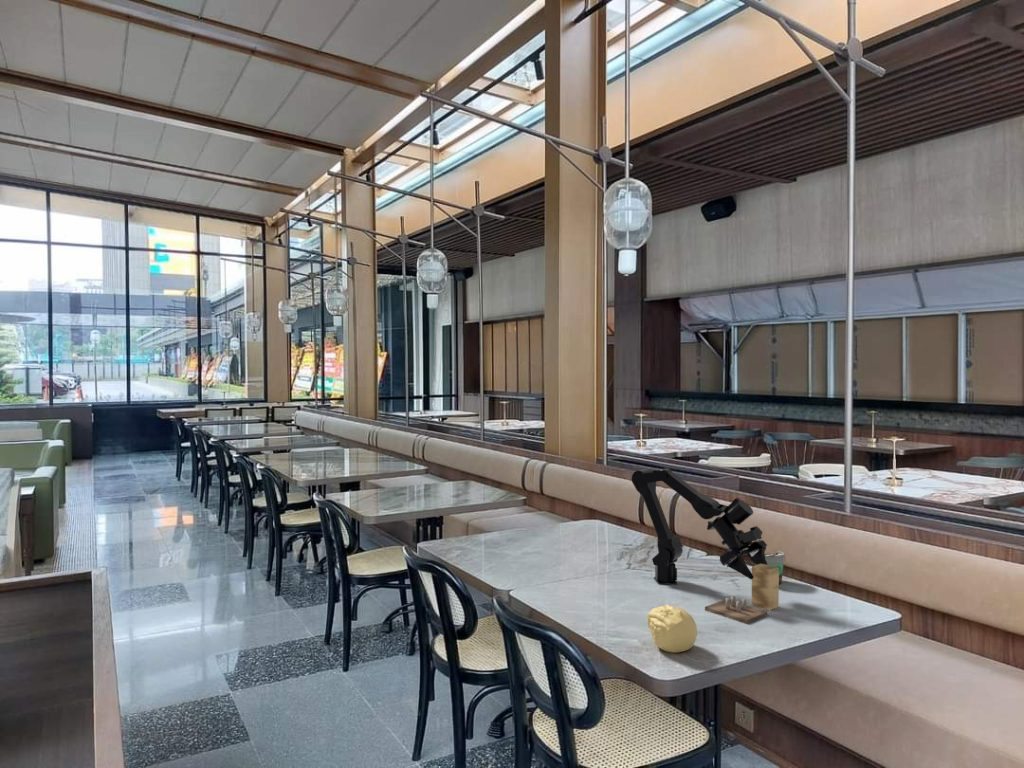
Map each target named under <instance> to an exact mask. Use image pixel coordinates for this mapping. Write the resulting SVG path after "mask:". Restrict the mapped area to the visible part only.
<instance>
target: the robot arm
mask: <svg viewBox="0 0 1024 768" xmlns="http://www.w3.org/2000/svg"><path fill="white" fill-rule="evenodd" d="M631 482H632V484H633V486H634V488H635V490H636V491H637V493H638V494H640V495H641V497H642V499H643V501H644V503H645V506H646V509H647V511H648V515H649V517H650V519H651V522H652V526H653V528H654V532H655V533H656V536H657V545H656V547H657V550H658V553H657V554H656V555H655V556H653V557H652V559H651V560H652V564H653V565H654V571H655V572H654V577H653V579H654V581H655V582H656V583H657V584H658V585H677V584H678V582H677V580H678V569H677V567H676V563H677V561H678V559H679V558H680V557H681V556H682V554H683V553H684V551H683V547H684V545H683V544H682V542H681V538H680V536H679V534H678V535H674V534H673V533H672V531H671V529H670V527H669V524H668V521H667V518H666V516H665V513H664V511H663V507H662V505H661V503H660V500H659V497H658V494H657V482H663V483H664V484H666V485H667V486H668V487H669V488H670V489H672V490H673V492H675V493H676V494H678V495H680V496H681V497H682V498H683V499H684V500H686V501H687V502H688V503H689V505H691V507H692V509H693V511H695V513H696V514H698V515H699V517H701V519H703V520H710V521H707V527H706V530H707V531H712V530H715V531H716V533H717V534H718V535H719V536H720V538H721V539H722V541H721V544H722V545H723V546H724V545H726V546H727V548H728V549H726V550H725V551H724V552H723V553H722V554H721V555H720V556H719V562H720V563H721V565H722V566H726V567H727V568H730V569H732V570H734V571H735V572H737V573H739V574H741V575H742V576H745V577H746V578H747V579H750V580H752V579H753V578H754V577H753V575H752V570H750V569H749V566H748V565H747V564H746V562H745V558H744V556H745V555H746V556H747V557H750V558H749V560H750V561H751V562H752V563H753V564H754V565H755V564H756V565H758V564H765V565H768V564H767V562H766V559H765V554H766V553H765V552H766V550H767V546H768V544H767V543H766V542H765V541H764V540H763V537H762V535H763V531H762V530H761V528H759V526H758V525H756V526H753V527H750V528H749V529H750V530H749V531H745V532H744V530H743V529H738V528H737V527H736V526H735V525H741V524H742V523H744V522H745V521H746V520H748V518H750V517H751V516H753V514H754V510H753V509H752V508H753V507H751V506H750V505H749V503H747V502H745V501H744V500H742V499H741V498H739V497H736V498H734V499H733V500H732V502H731V503H730V504H729V505H726V504H723V503H722V504H721V503H720V502H719V501H718V500H716V499H714V498H712V497H711V496H709V495H706V494H704V493H701V492H699V491H698V490H696V488H694V487H692V486H691V485H690V484H689V483H688V482H686V481H685V480H683V478H681V477H680V476H678V475H677V474H675V472H673V471H672V469H670V468H667V467H666V468H662V469H656V470H655V469H654V470H652V469H648V468H642V469H639V470H636V471H634V472H633V473H632V475H631ZM721 515H722V516H721ZM713 518H714V519H713ZM711 519H713V520H711Z"/></svg>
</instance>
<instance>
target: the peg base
mask: <svg viewBox="0 0 1024 768" xmlns="http://www.w3.org/2000/svg"><path fill="white" fill-rule="evenodd" d="M730 597H731V599H730ZM730 597H725V599H722V600H719V601H717V602H714V603H711V604H709V605H706V606H704V611H707V612H710V613H713V614H716V615H719V616H721V615H722V617H724V618H727V617H728V619H732V620H734V621H736V622H740V623H742V624H746V625H747V624H750V623H752V622H754V621H758V620H759V619H762V618H764V617H766V615H767V616H768V614H769V613H768V612H769V611H768V610H765V609H762V608H758V607H757V608H756V607H755V606H752V605H747V599H745V598H742V599H741V601H739V600H737V601H736V599H737V598H736V595H731V596H730Z"/></svg>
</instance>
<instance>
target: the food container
mask: <svg viewBox="0 0 1024 768" xmlns="http://www.w3.org/2000/svg"><path fill="white" fill-rule="evenodd" d="M764 555H765V559H766V562H767V564H768V565H769V566H773V567H777V568H779V586H780V585H782V584H783V583H782V580H783V572H784V571H783V570H784V563H785V562H786V561H787V560H786V555H785V553H784V552H783V551H781V550H777V552H775V553H764ZM755 565H756V564H755V563H754V566H755Z"/></svg>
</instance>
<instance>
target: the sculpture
mask: <svg viewBox="0 0 1024 768" xmlns="http://www.w3.org/2000/svg"><path fill="white" fill-rule="evenodd" d="M646 616H647V617H646V618H647V627H648V629H649V631H650V634H651V637H652V641H653V643H654V644H655V646H656V647H658V648H659V649H661V650H662V651H665V652H668V653H672V654H673V653H676V654H677V653H681V652H685V651H688V650H689V649H691V648H692V647H693V646H694V645H695V643H696V640H697V636H698V629H697V628H698V627H697V624H696V621H695V619H694V618H693V615H692V614H690V613H689V612H688V611H687V610H686V609H684V608H681V607H677V606H672V605H671V604H665V605H661V606H655V607H654V608H651V610H650V611H649V612H648V613H647V615H646Z"/></svg>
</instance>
